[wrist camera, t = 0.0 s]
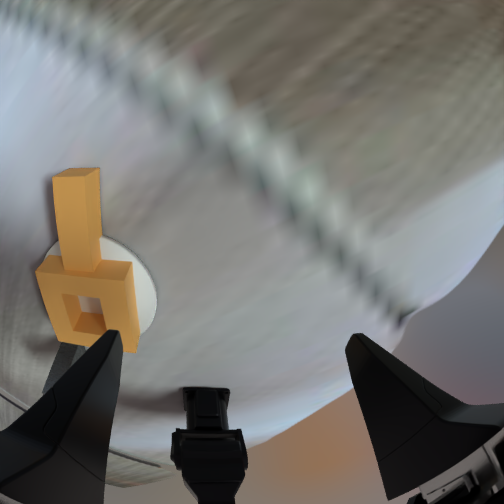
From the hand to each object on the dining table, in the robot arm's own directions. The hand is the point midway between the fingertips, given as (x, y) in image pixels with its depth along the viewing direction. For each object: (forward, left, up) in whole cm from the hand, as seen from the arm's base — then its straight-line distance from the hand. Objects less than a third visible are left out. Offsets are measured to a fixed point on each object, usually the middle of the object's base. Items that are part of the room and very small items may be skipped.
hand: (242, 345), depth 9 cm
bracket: (-6, +12, -14) cm, 20 cm away
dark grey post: (-18, +17, -14) cm, 29 cm away
